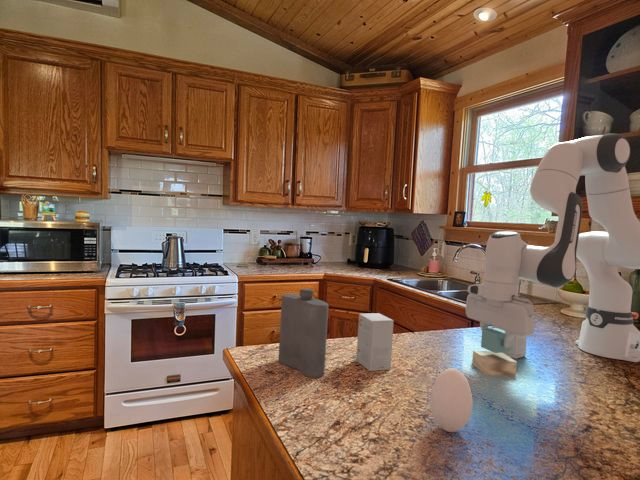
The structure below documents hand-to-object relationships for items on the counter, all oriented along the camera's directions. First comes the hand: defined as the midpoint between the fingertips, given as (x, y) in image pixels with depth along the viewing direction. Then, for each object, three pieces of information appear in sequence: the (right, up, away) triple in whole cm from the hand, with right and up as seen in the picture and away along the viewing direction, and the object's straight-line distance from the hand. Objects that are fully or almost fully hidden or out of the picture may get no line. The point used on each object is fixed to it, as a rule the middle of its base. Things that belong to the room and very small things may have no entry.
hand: (495, 342), depth 108 cm
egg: (-23, -8, -33) cm, 41 cm away
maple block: (-1, -8, 0) cm, 8 cm away
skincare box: (+10, -7, +15) cm, 19 cm away
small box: (-33, -6, -2) cm, 34 cm away
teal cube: (0, -2, 0) cm, 2 cm away
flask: (-52, -5, -6) cm, 53 cm away
